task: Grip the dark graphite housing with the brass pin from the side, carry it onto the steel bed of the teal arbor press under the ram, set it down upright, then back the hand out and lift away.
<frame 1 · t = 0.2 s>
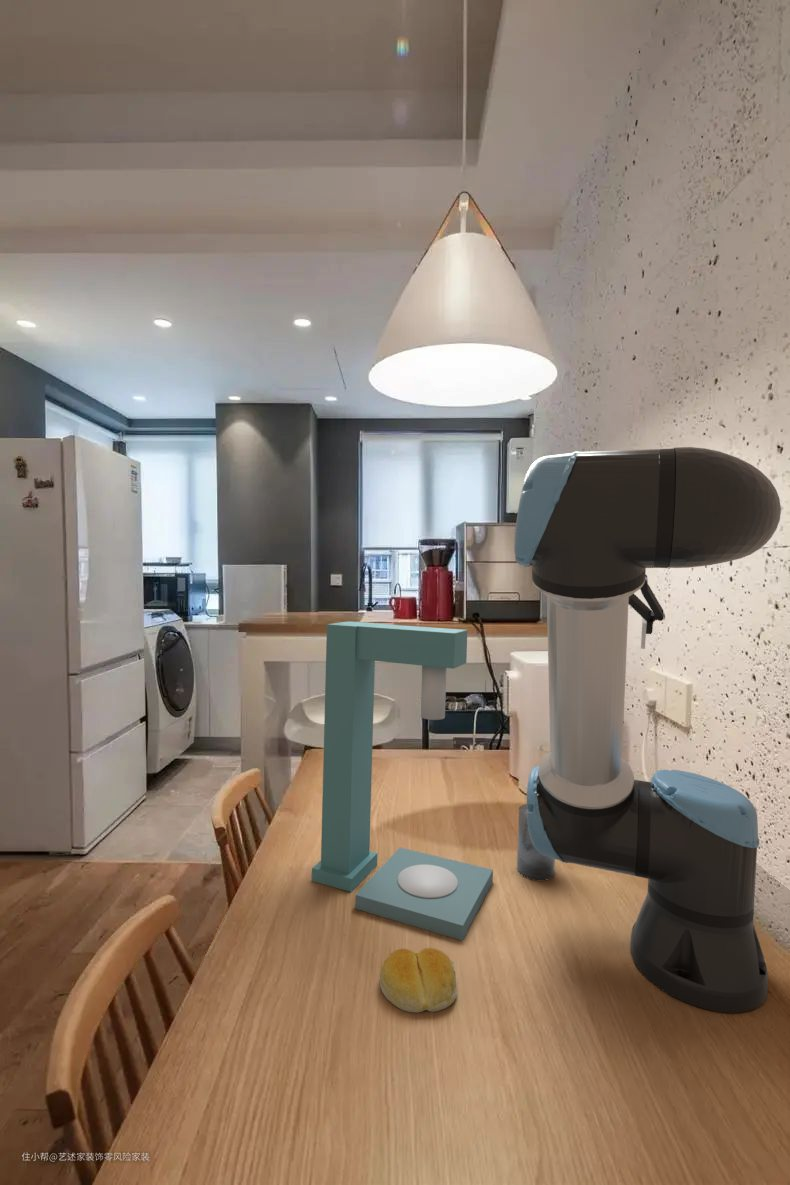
hand: (607, 642, 120), 35 cm above the table, tool tilted 35°, fingers open, 13 cm apart
bread roll: (419, 990, 67), on the table
housing: (535, 870, 94), on the table
arbor press: (427, 894, 86), on the table
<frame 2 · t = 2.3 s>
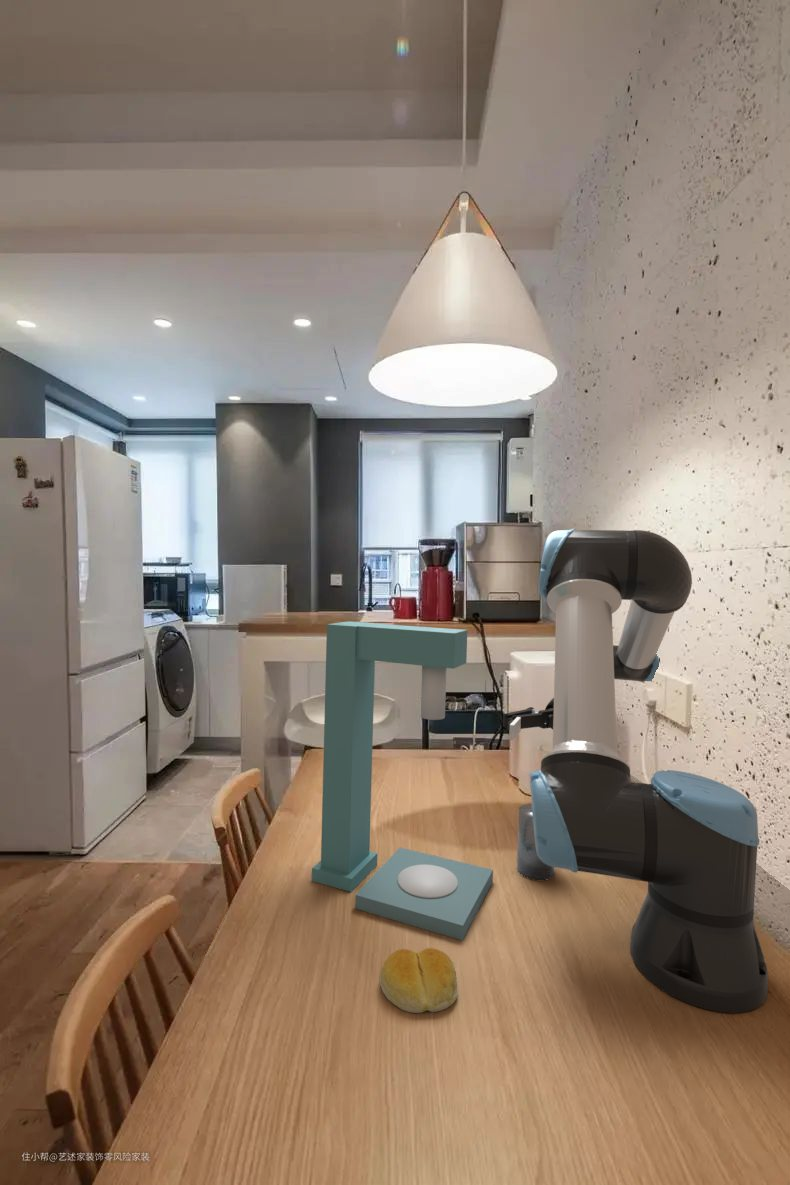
hand: (549, 737, 102), 20 cm above the table, tool horizontal, fingers open, 13 cm apart
nothing on the table moved.
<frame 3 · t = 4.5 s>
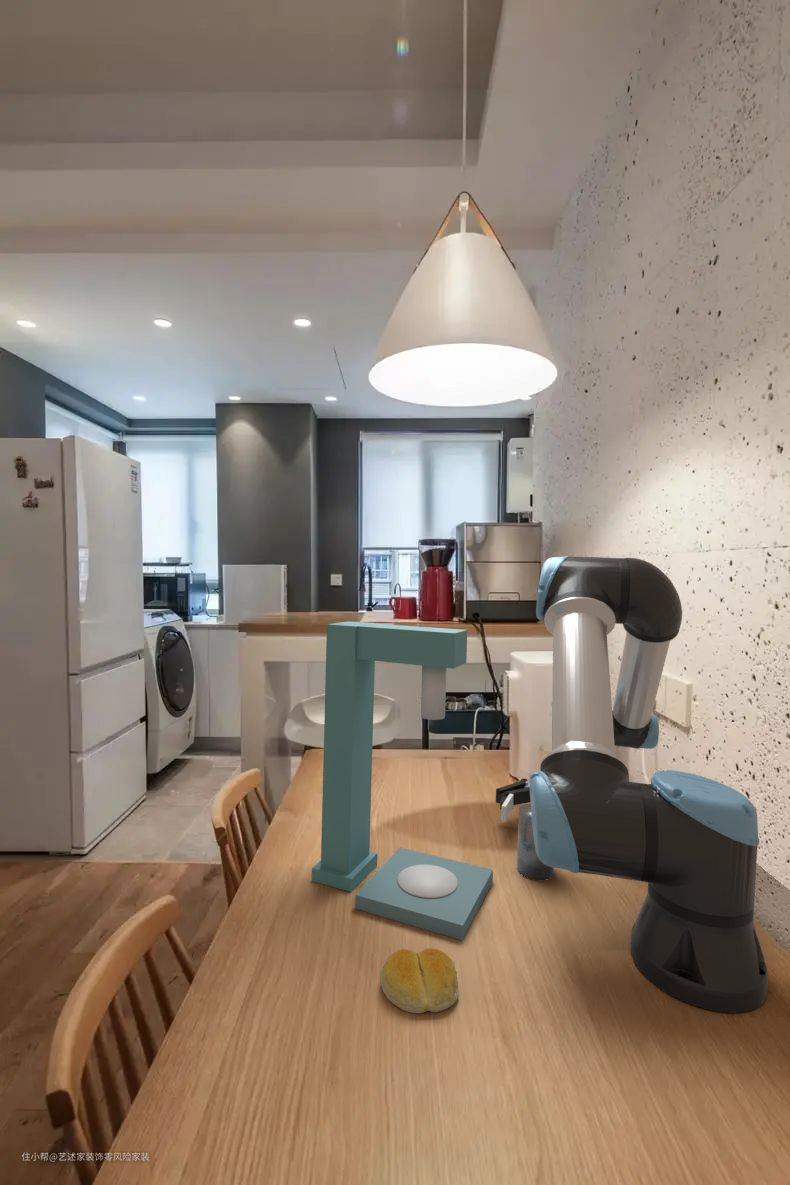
hand: (541, 821, 100), 6 cm above the table, tool horizontal, fingers open, 13 cm apart
nothing on the table moved.
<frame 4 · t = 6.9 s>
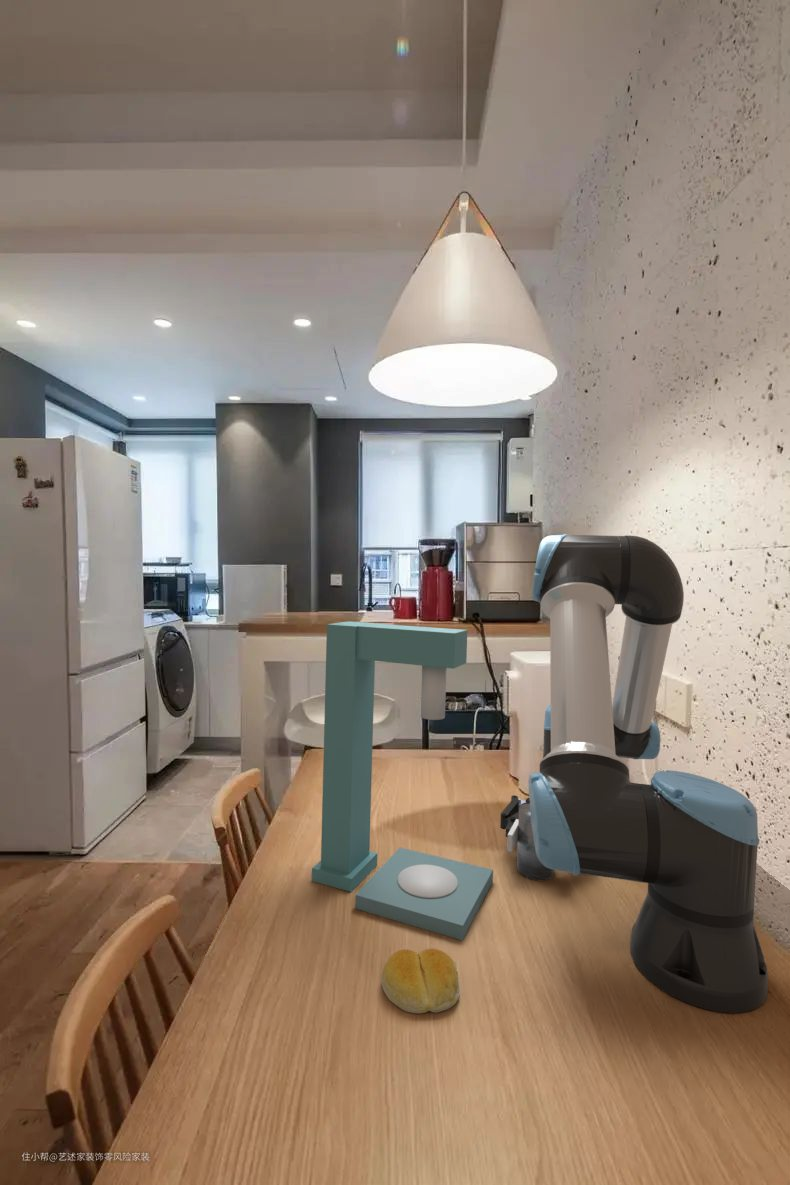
hand: (530, 847, 89), 6 cm above the table, tool horizontal, fingers closed on housing, 6 cm apart
housing: (535, 870, 94), on the table, touching gripper
everything else where it was.
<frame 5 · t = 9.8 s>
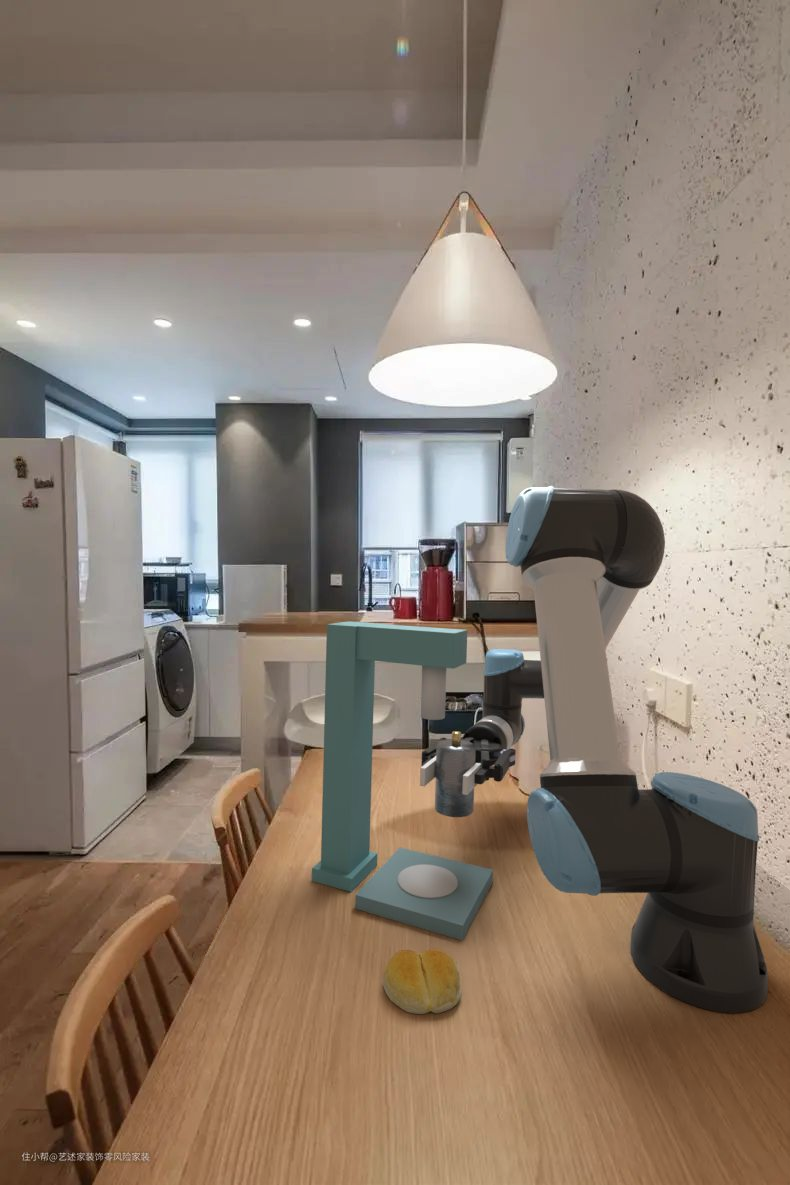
hand: (443, 781, 84), 18 cm above the table, tool horizontal, fingers closed on housing, 6 cm apart
housing: (453, 809, 89), point 12 cm above the table, touching gripper
everything else where it was.
when the fingers open (9 cm above the table, at t = 12.6 s): housing drops 1 cm, resting on arbor press.
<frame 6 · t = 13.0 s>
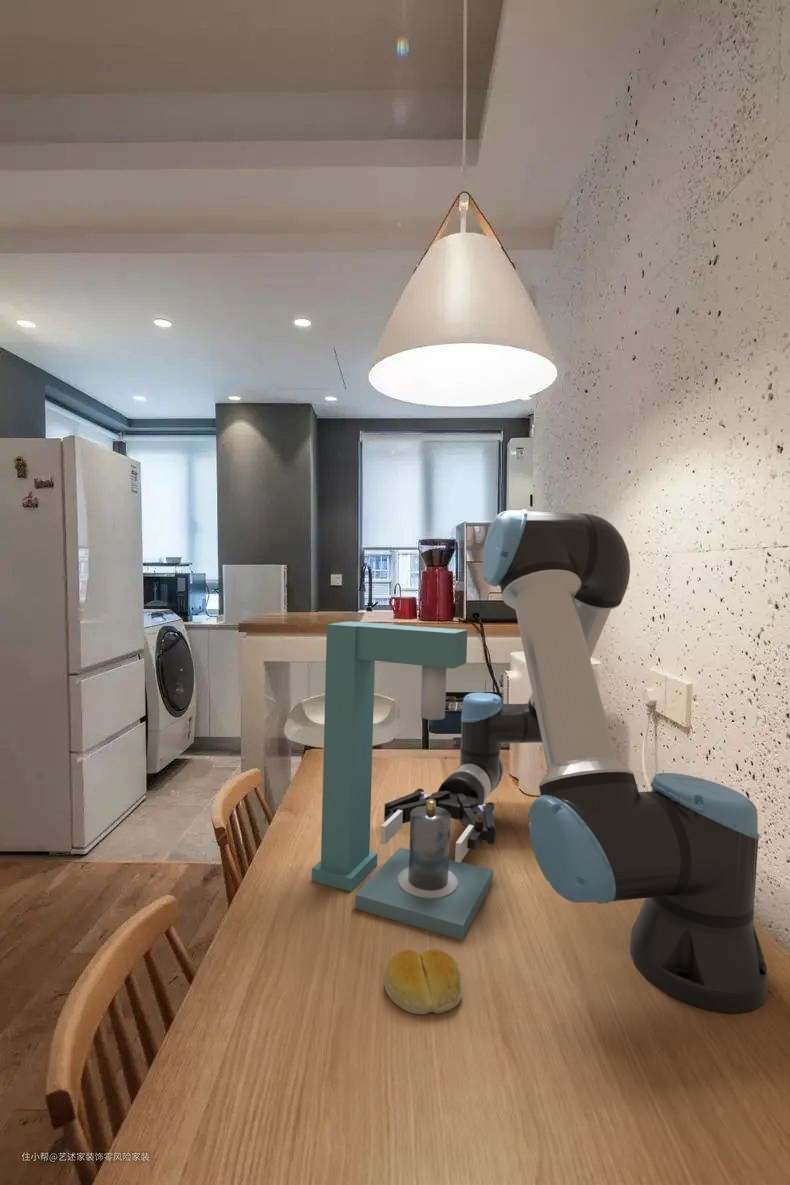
hand: (419, 843, 82), 9 cm above the table, tool horizontal, fingers open, 11 cm apart
housing: (428, 879, 86), point 2 cm above the table, touching arbor press
everything else where it was.
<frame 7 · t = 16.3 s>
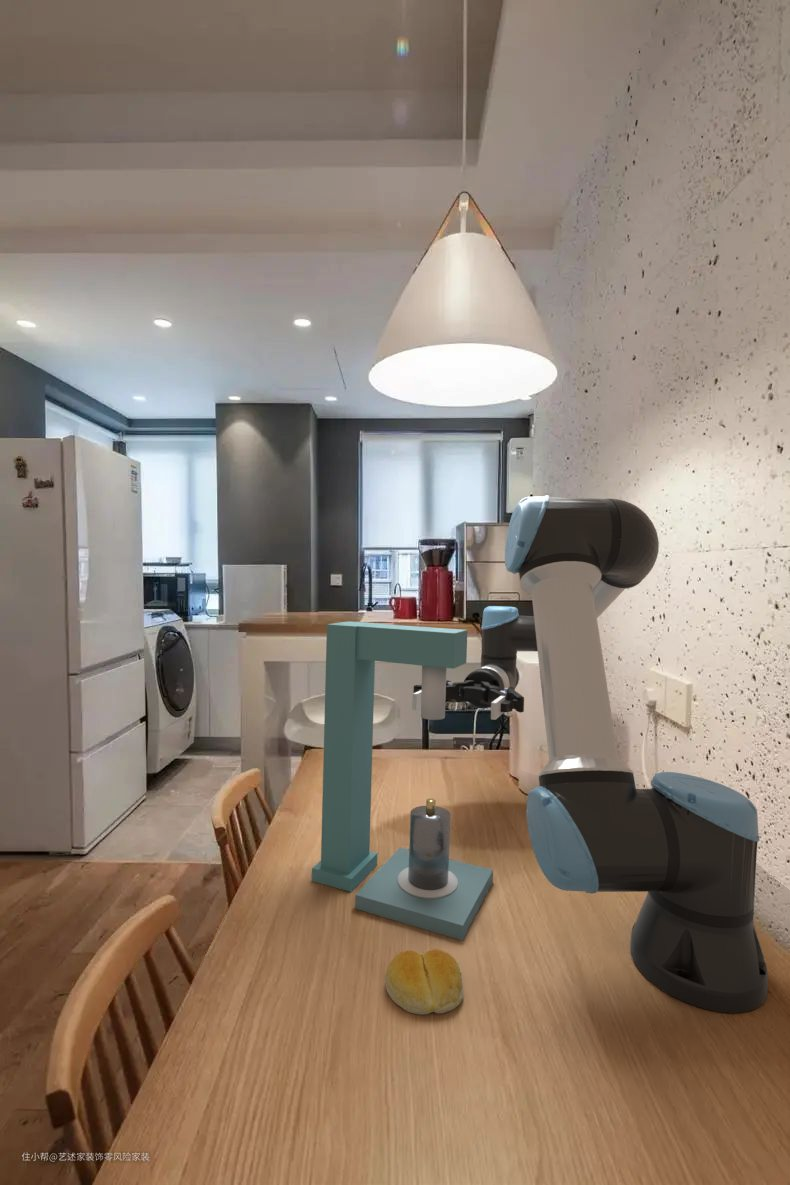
hand: (452, 706, 94), 27 cm above the table, tool horizontal, fingers open, 13 cm apart
nothing on the table moved.
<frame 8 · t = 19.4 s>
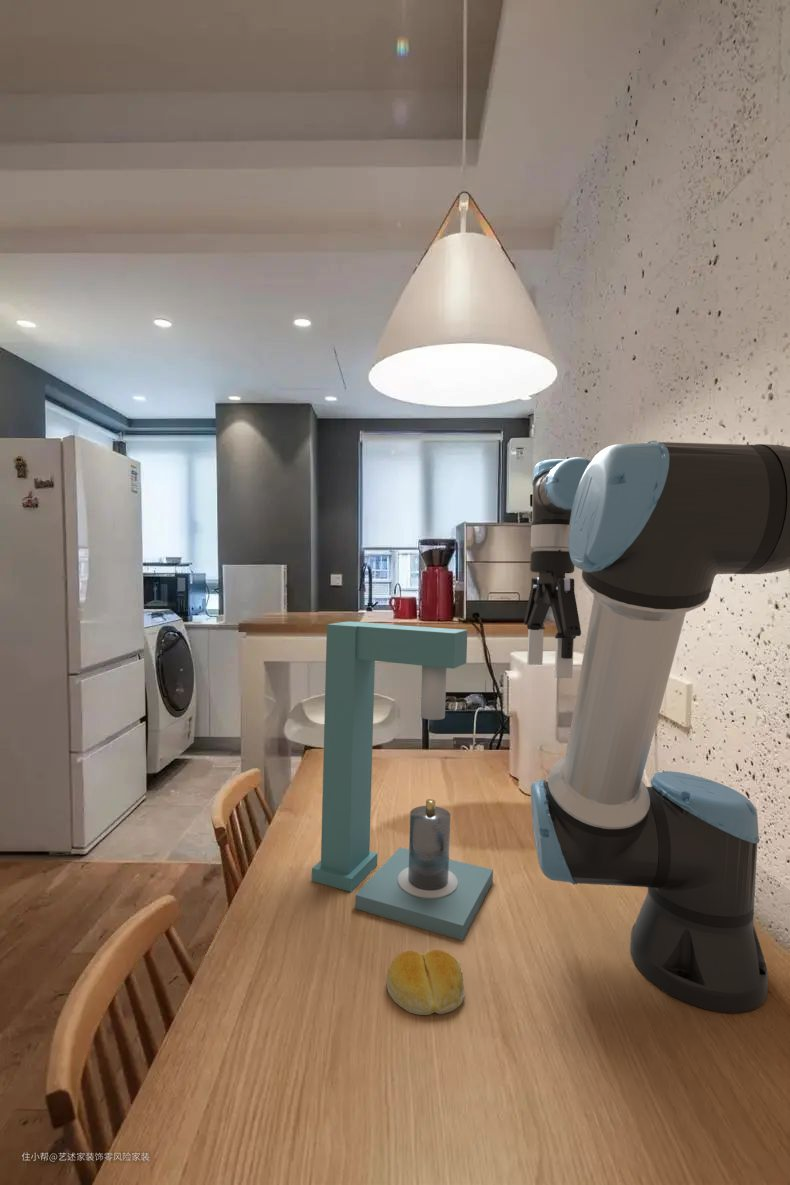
hand: (548, 670, 101), 32 cm above the table, tool pointing down, fingers open, 13 cm apart
nothing on the table moved.
at the end: housing 0.1 cm off-centre on the arbor press, point 2.3 cm above the arbor press's base; housing tilted 1°; the gripper is holding nothing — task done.
